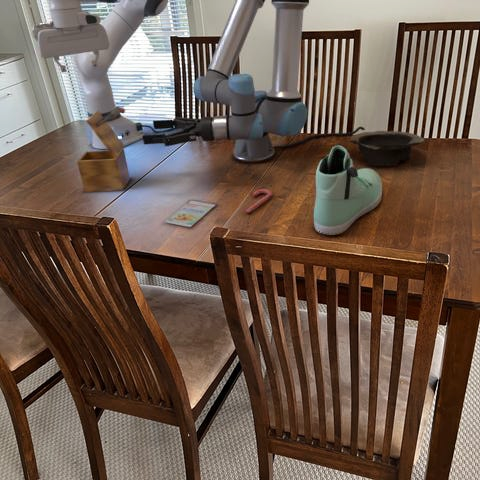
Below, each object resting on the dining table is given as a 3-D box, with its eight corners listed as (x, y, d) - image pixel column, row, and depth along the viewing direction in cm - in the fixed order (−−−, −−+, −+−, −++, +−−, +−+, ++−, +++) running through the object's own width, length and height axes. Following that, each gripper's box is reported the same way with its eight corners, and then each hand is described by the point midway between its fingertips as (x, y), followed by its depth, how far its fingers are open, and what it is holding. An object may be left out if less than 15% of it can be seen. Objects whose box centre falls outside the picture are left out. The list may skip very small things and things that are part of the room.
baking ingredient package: (164, 221, 138) (191, 199, 150) (164, 222, 139) (191, 201, 150) (190, 226, 135) (215, 203, 146) (190, 227, 135) (215, 205, 147)
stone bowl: (382, 177, 154) (383, 149, 150) (334, 159, 175) (334, 134, 170) (439, 158, 163) (441, 131, 159) (387, 143, 183) (387, 119, 179)
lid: (86, 121, 149) (107, 107, 146) (95, 112, 157) (115, 99, 154) (114, 158, 155) (135, 146, 152) (122, 148, 163) (142, 136, 160)
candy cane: (232, 210, 143) (232, 206, 142) (259, 190, 153) (259, 186, 152) (249, 215, 140) (248, 210, 139) (276, 194, 150) (275, 190, 149)
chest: (84, 191, 162) (76, 161, 156) (93, 180, 170) (86, 151, 164) (123, 190, 161) (116, 159, 155) (130, 178, 169) (123, 149, 163)
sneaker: (389, 187, 148) (396, 123, 138) (356, 242, 123) (361, 168, 112) (346, 181, 154) (350, 119, 144) (306, 232, 129) (307, 161, 118)
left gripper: (31, 25, 132) (45, 76, 139) (105, 16, 139) (115, 65, 146) (29, 23, 137) (42, 73, 144) (100, 14, 144) (109, 62, 151)
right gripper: (210, 155, 143) (141, 158, 145) (220, 126, 164) (159, 130, 166) (207, 130, 139) (136, 134, 141) (217, 105, 160) (155, 108, 162)
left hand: (79, 69), depth 145 cm, fingers open, 8 cm apart
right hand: (148, 132), depth 154 cm, fingers open, 13 cm apart
